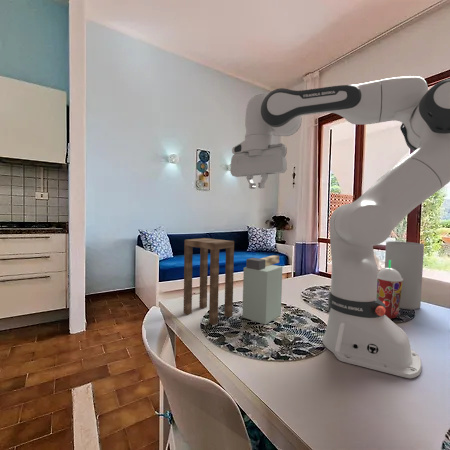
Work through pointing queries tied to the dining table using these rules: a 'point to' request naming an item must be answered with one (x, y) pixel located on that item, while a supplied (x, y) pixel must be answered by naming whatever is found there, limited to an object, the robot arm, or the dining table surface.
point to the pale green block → (262, 293)
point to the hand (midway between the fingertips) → (256, 188)
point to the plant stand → (214, 275)
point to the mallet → (261, 262)
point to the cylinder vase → (407, 270)
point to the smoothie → (389, 290)
